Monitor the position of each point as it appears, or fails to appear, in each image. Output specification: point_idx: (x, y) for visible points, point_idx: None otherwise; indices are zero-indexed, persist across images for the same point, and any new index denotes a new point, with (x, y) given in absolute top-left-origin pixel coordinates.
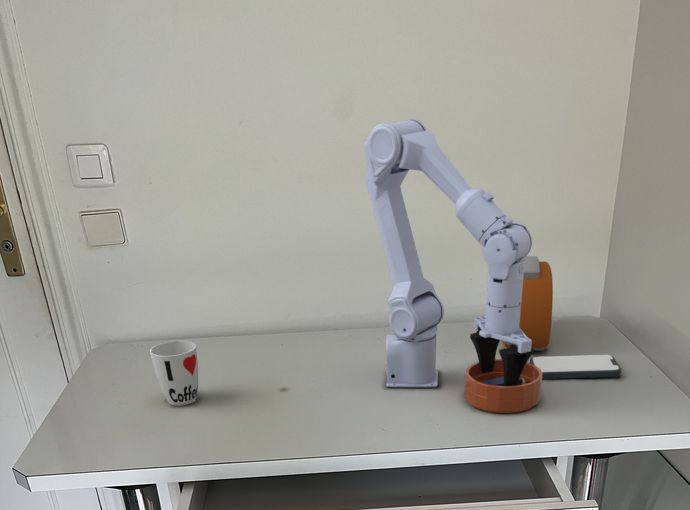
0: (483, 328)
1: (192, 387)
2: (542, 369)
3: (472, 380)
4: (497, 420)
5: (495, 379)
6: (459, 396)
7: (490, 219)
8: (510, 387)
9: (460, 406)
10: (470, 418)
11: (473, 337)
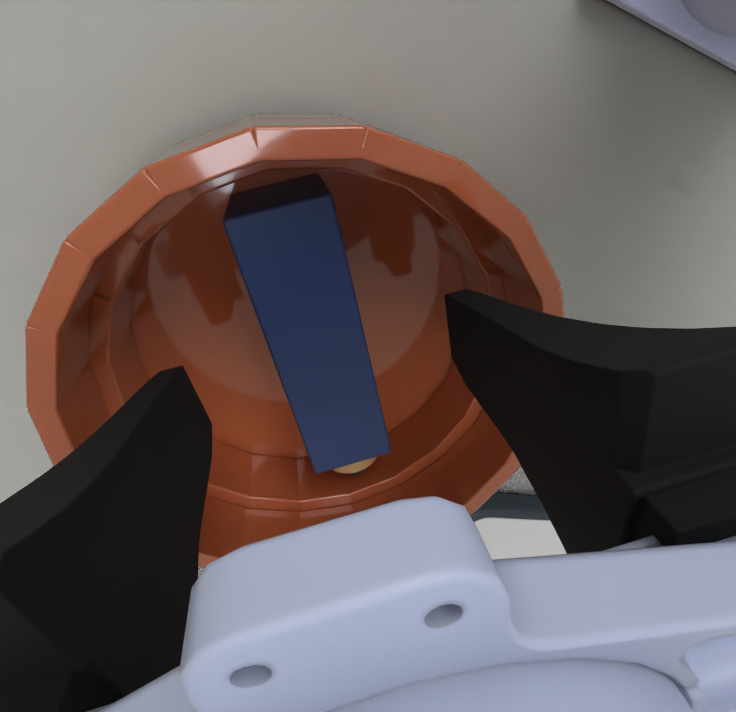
0: (588, 640)
1: None
2: (485, 534)
3: (216, 142)
4: (9, 221)
5: (346, 344)
6: (409, 104)
7: None
8: (27, 395)
9: (256, 49)
10: (37, 47)
11: (682, 360)
